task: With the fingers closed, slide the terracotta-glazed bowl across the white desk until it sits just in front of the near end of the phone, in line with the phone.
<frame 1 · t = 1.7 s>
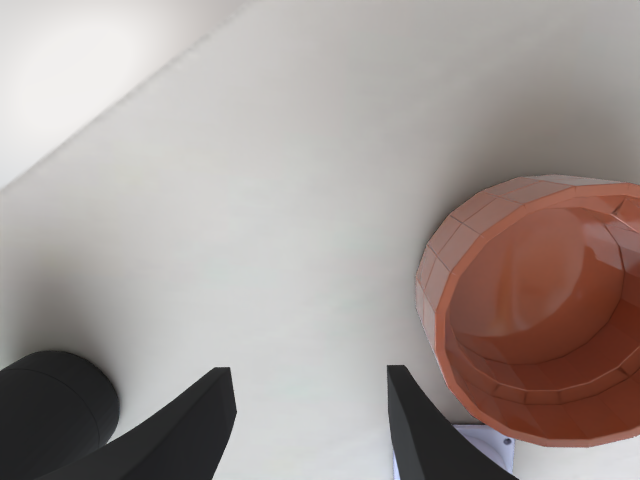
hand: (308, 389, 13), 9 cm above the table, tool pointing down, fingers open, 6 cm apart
pen holder: (69, 396, 26), on the table
bowl: (523, 283, 21), on the table
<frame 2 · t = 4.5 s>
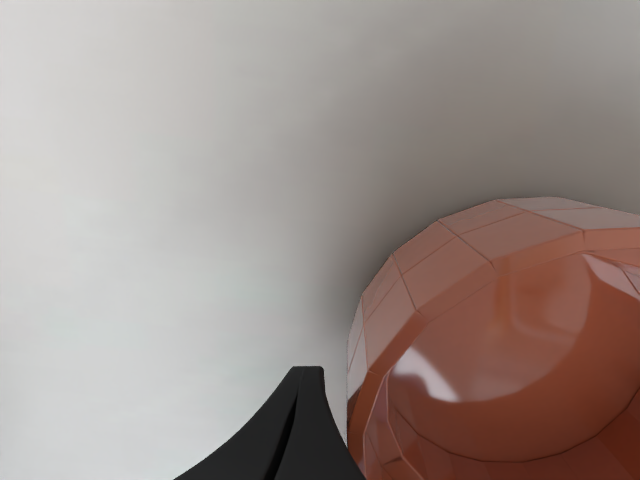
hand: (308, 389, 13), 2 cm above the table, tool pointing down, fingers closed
bowl: (504, 350, 14), on the table, touching gripper
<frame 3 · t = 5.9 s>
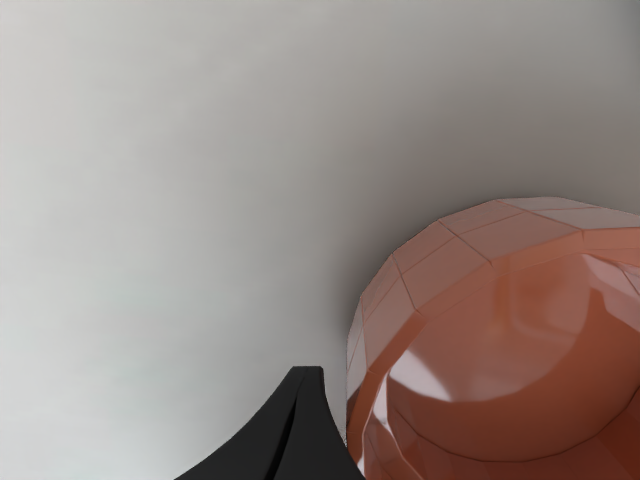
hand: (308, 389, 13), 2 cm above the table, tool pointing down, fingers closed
bowl: (503, 350, 14), on the table, touching gripper
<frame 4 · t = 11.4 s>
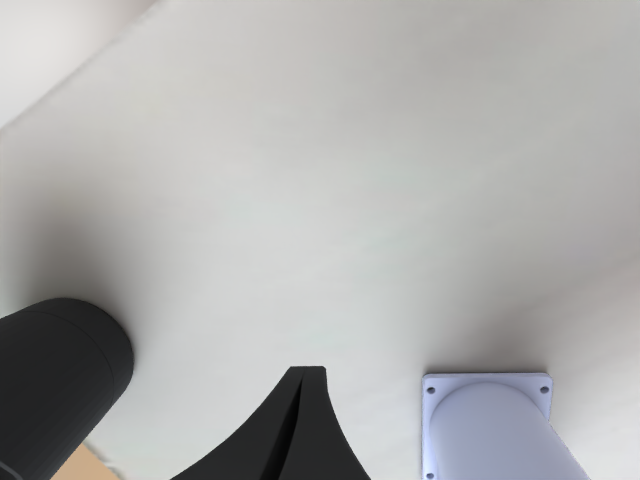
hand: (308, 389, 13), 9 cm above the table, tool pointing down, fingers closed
pen holder: (81, 349, 25), on the table
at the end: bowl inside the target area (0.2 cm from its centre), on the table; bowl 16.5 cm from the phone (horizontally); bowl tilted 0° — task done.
